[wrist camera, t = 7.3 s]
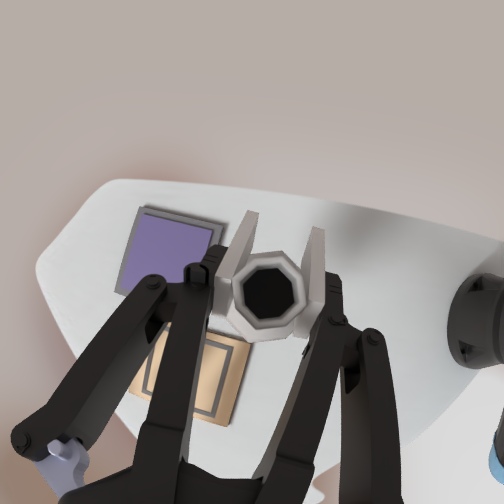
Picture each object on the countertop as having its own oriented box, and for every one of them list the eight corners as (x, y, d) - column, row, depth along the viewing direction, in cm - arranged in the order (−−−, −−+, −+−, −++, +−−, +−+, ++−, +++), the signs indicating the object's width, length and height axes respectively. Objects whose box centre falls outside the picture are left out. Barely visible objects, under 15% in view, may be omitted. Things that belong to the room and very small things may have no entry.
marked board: (251, 343, 32) (250, 344, 31) (227, 425, 30) (227, 427, 29) (146, 311, 33) (144, 311, 32) (130, 390, 31) (128, 392, 30)
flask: (205, 274, 22) (160, 251, 12) (287, 236, 22) (306, 184, 12) (243, 357, 20) (228, 400, 10) (326, 317, 21) (377, 328, 11)
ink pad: (223, 227, 34) (222, 224, 33) (198, 320, 33) (195, 320, 31) (141, 208, 35) (138, 205, 34) (116, 292, 33) (112, 291, 32)
